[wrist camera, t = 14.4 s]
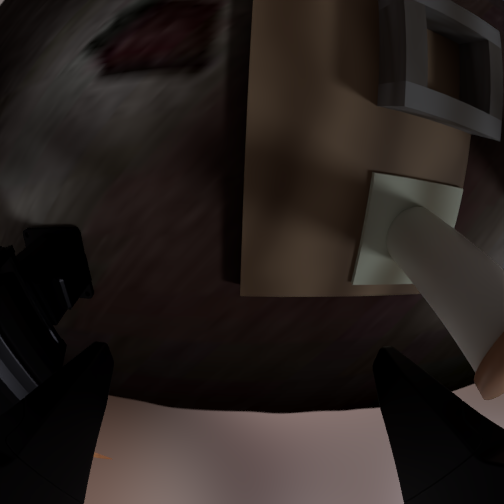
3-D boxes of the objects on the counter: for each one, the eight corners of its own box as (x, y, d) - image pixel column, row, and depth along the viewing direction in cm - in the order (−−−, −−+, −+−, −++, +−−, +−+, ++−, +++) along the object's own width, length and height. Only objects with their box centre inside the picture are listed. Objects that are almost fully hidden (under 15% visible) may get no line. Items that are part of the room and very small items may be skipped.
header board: (240, 285, 23) (240, 327, 18) (253, -21, 12) (257, -56, 8) (424, 284, 23) (451, 316, 19) (461, 36, 13) (500, 30, 9)
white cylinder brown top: (369, 250, 19) (466, 398, 8) (408, 189, 17) (550, 300, 6) (413, 275, 21) (500, 400, 9) (449, 223, 19) (563, 327, 7)
